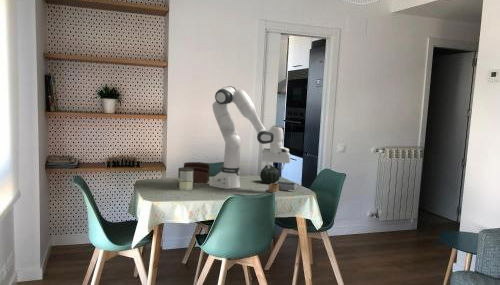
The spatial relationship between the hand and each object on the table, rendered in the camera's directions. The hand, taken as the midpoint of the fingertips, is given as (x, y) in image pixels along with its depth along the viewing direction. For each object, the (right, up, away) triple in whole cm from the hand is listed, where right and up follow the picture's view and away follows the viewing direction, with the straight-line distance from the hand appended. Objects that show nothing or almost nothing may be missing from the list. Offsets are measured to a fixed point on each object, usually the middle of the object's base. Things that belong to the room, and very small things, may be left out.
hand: (275, 168), depth 285 cm
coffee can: (-62, -14, -5) cm, 64 cm away
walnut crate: (-1, -16, +2) cm, 16 cm away
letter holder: (-59, -11, +22) cm, 64 cm away
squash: (-3, -13, +32) cm, 35 cm away
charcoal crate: (+8, -16, +12) cm, 21 cm away
